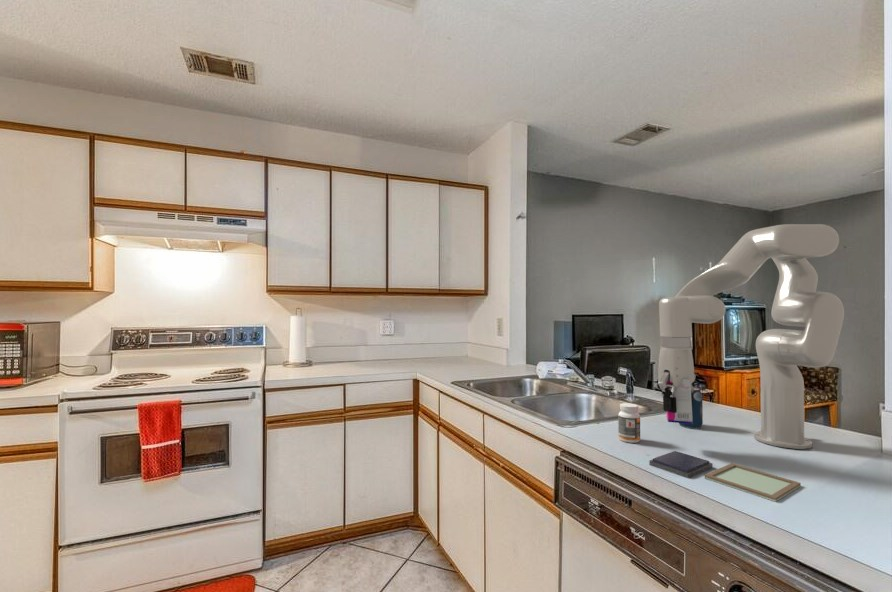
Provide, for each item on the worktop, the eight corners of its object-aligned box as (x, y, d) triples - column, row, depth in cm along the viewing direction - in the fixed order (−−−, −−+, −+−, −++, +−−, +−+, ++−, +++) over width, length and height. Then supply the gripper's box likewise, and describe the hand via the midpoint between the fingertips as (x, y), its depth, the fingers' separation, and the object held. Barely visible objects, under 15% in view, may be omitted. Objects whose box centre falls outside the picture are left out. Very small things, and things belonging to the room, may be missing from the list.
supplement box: (690, 418, 113) (688, 375, 113) (692, 424, 107) (691, 379, 107) (666, 416, 115) (664, 374, 115) (667, 422, 110) (665, 378, 110)
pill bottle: (642, 444, 114) (642, 407, 115) (620, 442, 116) (620, 406, 116) (637, 437, 120) (637, 403, 120) (616, 436, 121) (616, 402, 121)
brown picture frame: (731, 466, 99) (731, 463, 99) (800, 486, 88) (800, 482, 88) (704, 478, 92) (704, 475, 92) (775, 501, 81) (775, 498, 81)
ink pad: (674, 455, 106) (674, 449, 106) (712, 467, 98) (712, 461, 98) (649, 464, 100) (649, 458, 100) (688, 478, 92) (688, 471, 92)
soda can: (707, 429, 128) (707, 390, 129) (684, 429, 129) (684, 390, 129) (694, 422, 135) (694, 385, 136) (672, 422, 135) (672, 385, 136)
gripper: (679, 339, 119) (681, 401, 119) (644, 344, 110) (646, 411, 110) (707, 341, 113) (709, 406, 113) (672, 347, 103) (675, 418, 103)
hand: (678, 408), depth 111 cm, fingers closed on supplement box, 7 cm apart
